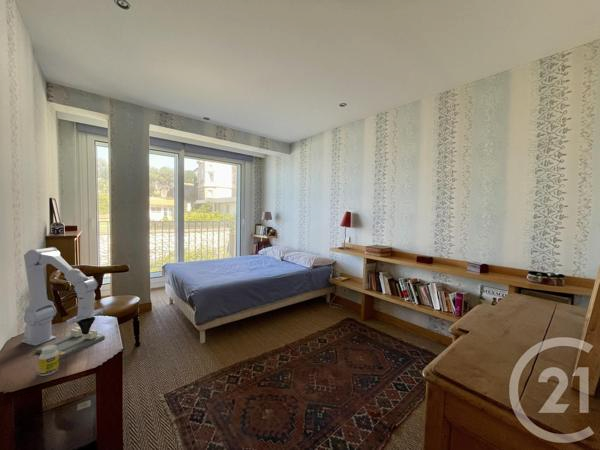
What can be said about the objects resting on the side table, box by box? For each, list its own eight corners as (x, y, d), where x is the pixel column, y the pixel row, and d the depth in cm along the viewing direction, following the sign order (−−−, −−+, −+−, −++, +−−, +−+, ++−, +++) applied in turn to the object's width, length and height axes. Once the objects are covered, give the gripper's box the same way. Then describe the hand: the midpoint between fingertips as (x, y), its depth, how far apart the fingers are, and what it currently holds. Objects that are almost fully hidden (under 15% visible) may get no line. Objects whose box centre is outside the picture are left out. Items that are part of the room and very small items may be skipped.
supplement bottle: (45, 377, 92) (46, 352, 92) (34, 374, 93) (35, 349, 93) (62, 368, 98) (62, 344, 97) (51, 366, 99) (52, 342, 98)
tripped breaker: (84, 338, 117) (84, 331, 117) (90, 335, 120) (91, 328, 120) (90, 339, 116) (90, 332, 116) (97, 336, 119) (97, 329, 119)
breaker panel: (36, 352, 107) (36, 348, 107) (81, 333, 125) (81, 330, 124) (61, 359, 103) (61, 355, 103) (104, 338, 121) (104, 335, 121)
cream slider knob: (70, 335, 118) (70, 328, 118) (77, 332, 121) (77, 326, 121) (76, 337, 117) (76, 330, 117) (83, 334, 120) (83, 327, 120)
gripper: (74, 312, 107) (74, 342, 107) (108, 301, 121) (107, 328, 122) (63, 309, 109) (62, 339, 109) (97, 299, 123) (96, 325, 123)
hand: (85, 333), depth 116 cm, fingers closed
